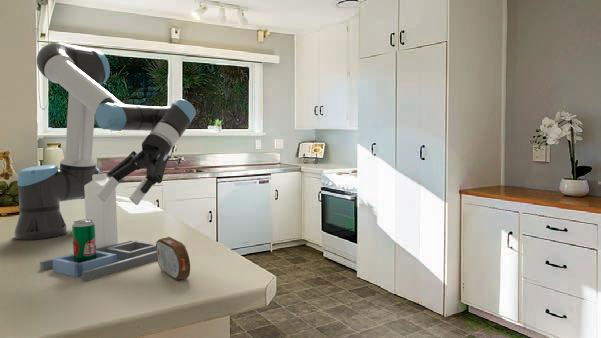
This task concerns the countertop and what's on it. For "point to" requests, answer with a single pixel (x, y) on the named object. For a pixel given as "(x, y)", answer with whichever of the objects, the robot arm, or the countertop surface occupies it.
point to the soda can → (84, 240)
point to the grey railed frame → (104, 260)
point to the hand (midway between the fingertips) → (116, 200)
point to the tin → (173, 258)
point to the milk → (101, 211)
